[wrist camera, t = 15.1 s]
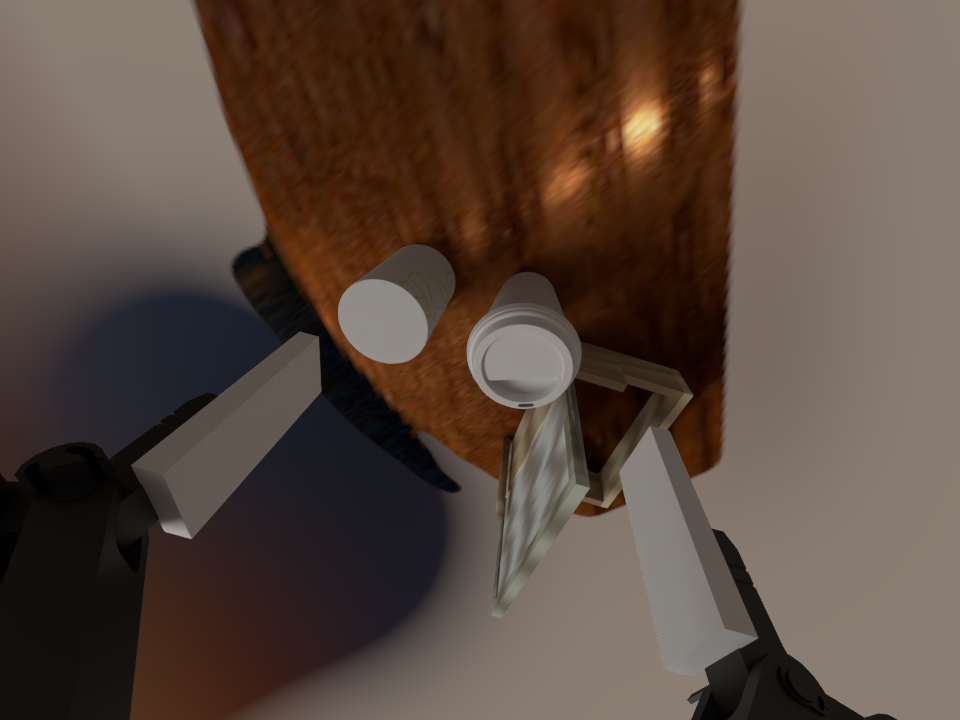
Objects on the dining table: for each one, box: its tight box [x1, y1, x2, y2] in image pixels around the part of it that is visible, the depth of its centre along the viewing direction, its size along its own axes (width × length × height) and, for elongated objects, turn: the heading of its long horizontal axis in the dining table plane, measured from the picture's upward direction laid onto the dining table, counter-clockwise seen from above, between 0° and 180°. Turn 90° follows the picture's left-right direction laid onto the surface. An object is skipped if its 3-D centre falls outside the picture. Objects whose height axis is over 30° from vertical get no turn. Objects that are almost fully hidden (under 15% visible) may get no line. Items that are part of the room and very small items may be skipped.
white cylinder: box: [338, 244, 455, 364], centre depth 36 cm, size 8×8×12 cm
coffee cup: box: [467, 272, 582, 409], centre depth 34 cm, size 10×10×15 cm
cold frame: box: [491, 341, 693, 618], centre depth 39 cm, size 21×16×22 cm
